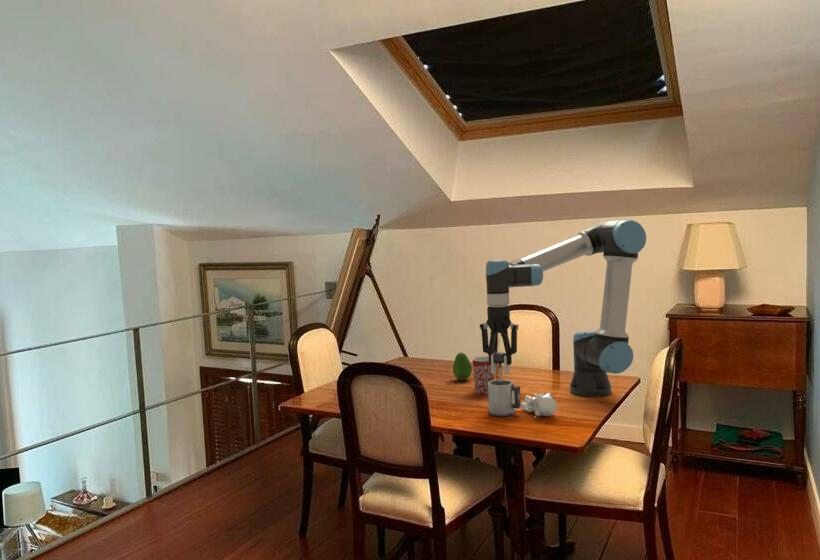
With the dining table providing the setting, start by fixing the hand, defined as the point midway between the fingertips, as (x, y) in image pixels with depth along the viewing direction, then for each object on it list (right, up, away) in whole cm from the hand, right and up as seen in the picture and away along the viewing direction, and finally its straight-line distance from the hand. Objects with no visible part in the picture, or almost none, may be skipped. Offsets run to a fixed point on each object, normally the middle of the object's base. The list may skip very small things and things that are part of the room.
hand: (500, 373), depth 210 cm
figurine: (+13, -14, -2) cm, 19 cm away
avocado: (-9, -11, +51) cm, 52 cm away
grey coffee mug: (+1, -14, +1) cm, 14 cm away
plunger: (0, -10, +1) cm, 10 cm away
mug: (-2, -12, +31) cm, 33 cm away
